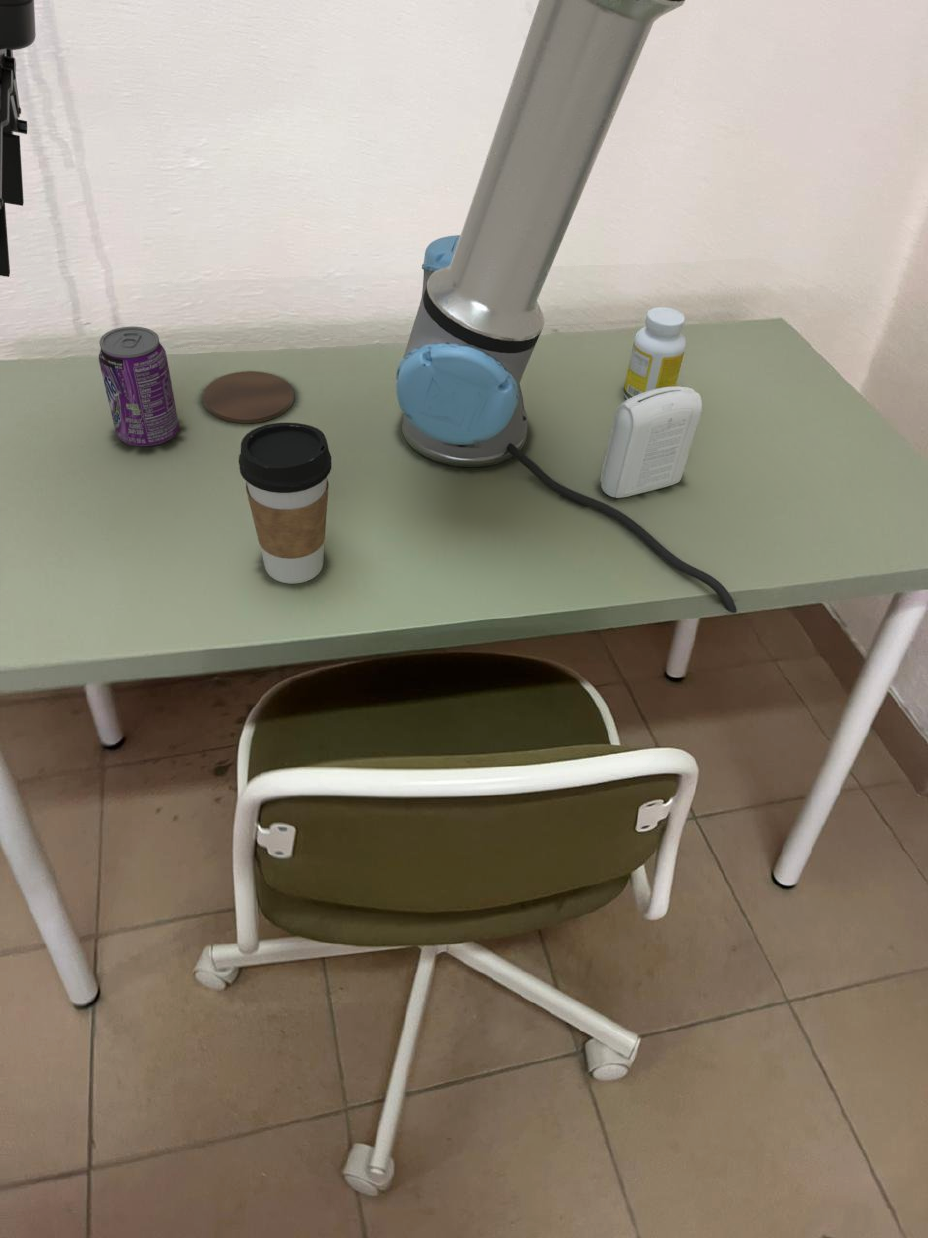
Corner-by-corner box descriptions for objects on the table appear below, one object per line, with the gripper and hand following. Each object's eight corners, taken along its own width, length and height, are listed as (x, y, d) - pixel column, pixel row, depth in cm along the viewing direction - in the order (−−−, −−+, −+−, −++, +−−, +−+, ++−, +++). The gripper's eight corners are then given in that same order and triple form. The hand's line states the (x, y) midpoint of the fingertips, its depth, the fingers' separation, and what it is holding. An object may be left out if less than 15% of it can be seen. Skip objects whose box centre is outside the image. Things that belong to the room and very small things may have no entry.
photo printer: (664, 463, 110) (690, 372, 101) (685, 484, 107) (713, 392, 99) (593, 482, 106) (613, 389, 97) (613, 504, 104) (635, 410, 95)
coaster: (310, 404, 114) (310, 400, 113) (233, 433, 108) (232, 429, 108) (263, 366, 119) (262, 362, 119) (187, 392, 114) (186, 387, 113)
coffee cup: (321, 599, 90) (314, 476, 79) (239, 583, 90) (221, 459, 80) (346, 545, 95) (342, 424, 85) (268, 531, 96) (256, 408, 86)
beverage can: (122, 416, 109) (101, 323, 100) (183, 417, 110) (167, 324, 101) (111, 451, 104) (88, 356, 96) (175, 451, 105) (158, 357, 96)
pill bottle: (678, 396, 121) (701, 314, 113) (659, 417, 117) (680, 334, 109) (634, 379, 123) (653, 298, 115) (614, 399, 119) (631, 317, 111)
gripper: (-52, -81, 78) (-28, 168, 93) (-103, 19, 62) (-65, 299, 77) (45, -56, 80) (53, 182, 95) (18, 46, 65) (33, 312, 80)
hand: (1, 235), depth 86 cm, fingers open, 13 cm apart
